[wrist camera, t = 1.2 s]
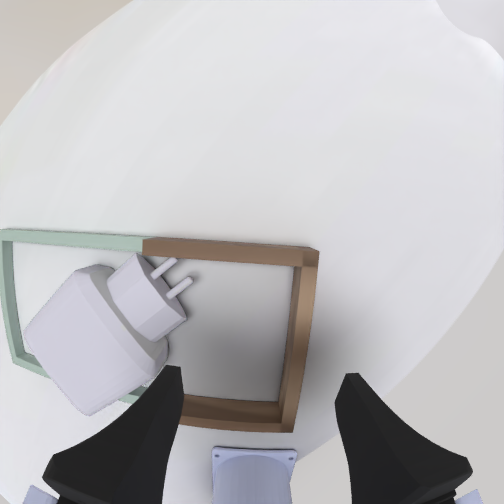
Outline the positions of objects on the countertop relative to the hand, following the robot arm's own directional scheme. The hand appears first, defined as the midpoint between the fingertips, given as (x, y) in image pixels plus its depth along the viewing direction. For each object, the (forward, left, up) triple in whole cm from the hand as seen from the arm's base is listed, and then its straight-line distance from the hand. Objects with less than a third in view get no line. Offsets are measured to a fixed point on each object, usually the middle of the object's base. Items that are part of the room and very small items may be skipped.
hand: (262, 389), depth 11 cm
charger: (-1, +11, -10) cm, 15 cm away
